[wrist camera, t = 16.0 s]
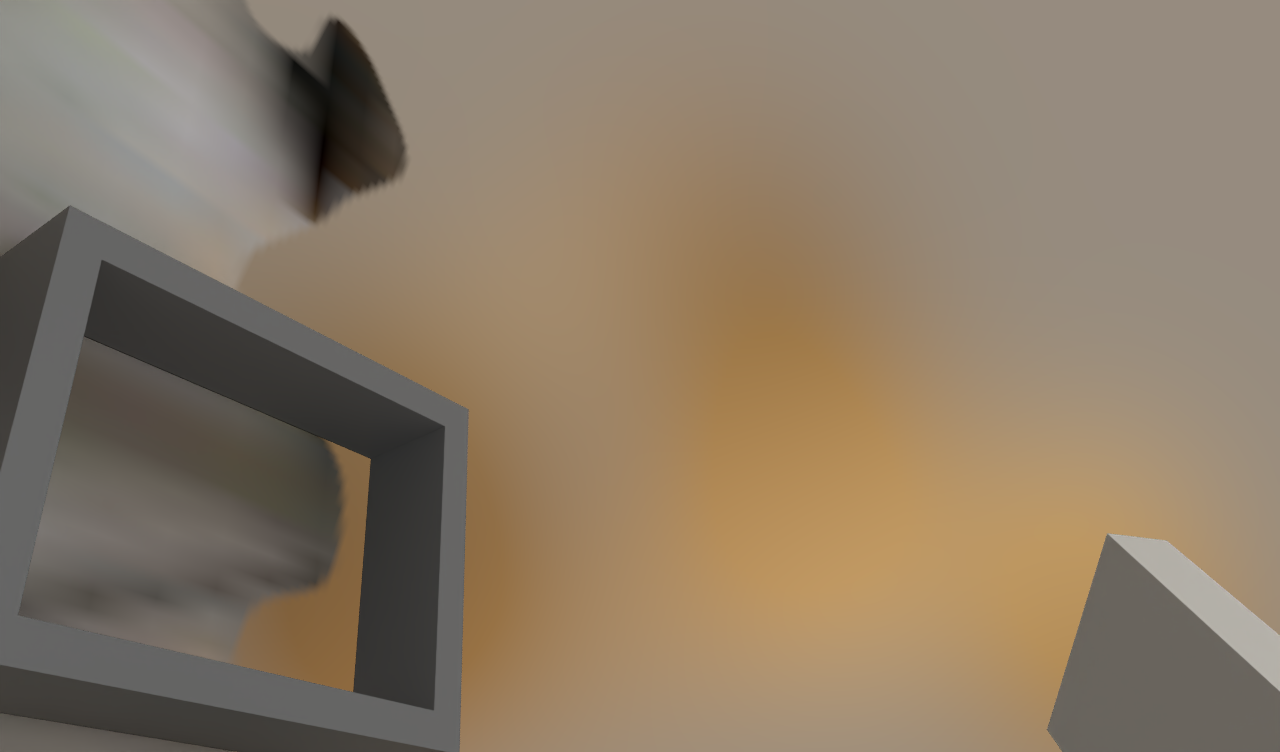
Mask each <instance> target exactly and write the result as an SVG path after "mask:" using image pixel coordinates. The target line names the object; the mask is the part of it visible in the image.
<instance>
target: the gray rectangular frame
mask: <svg viewBox="0 0 1280 752" xmlns="http://www.w3.org/2000/svg"><path fill="white" fill-rule="evenodd" d="M84 336H86V337H88V338H90V339H93V340H95V341H97V342H100V343H102V344H104V345H107V346H109V347H111V348H114V349H116V350H118V351H121V352H123V353H125V354H128V355H130V356H132V357H135V358H137V359H139V360H142V361H144V362H146V363H149V364H151V365H153V366H156V367H158V368H160V369H163V370H165V371H167V372H170V373H172V374H174V375H177V376H179V377H181V378H184V379H186V380H188V381H191V382H193V383H195V384H198V385H200V386H202V387H205V388H207V389H209V390H212V391H214V392H216V393H219V394H221V395H223V396H226V397H228V398H230V399H233V400H235V401H237V402H240V403H242V404H244V405H247V406H249V407H251V408H254V409H256V410H258V411H261V412H263V413H265V414H268V415H270V416H272V417H275V418H277V419H279V420H282V421H284V422H286V423H289V424H291V425H293V426H296V427H298V428H300V429H303V430H305V431H307V432H310V433H312V434H314V435H317V436H319V437H321V438H324V439H326V440H328V441H331V442H333V443H335V444H338V445H340V446H342V447H345V448H347V449H349V450H352V451H354V452H356V453H359V454H361V455H363V456H366V457H368V458H370V459H371V465H370V479H369V492H368V506H367V519H366V532H365V545H364V558H363V571H362V585H361V598H360V611H359V625H358V638H357V652H356V664H355V678H354V690H353V692H350V691H346V690H341V689H337V688H332V687H328V686H324V685H320V684H315V683H311V682H306V681H302V680H298V679H293V678H289V677H285V676H280V675H276V674H272V673H267V672H263V671H259V670H254V669H250V668H245V667H241V666H237V665H233V664H228V663H224V662H219V661H215V660H211V659H206V658H202V657H198V656H193V655H189V654H185V653H180V652H176V651H171V650H167V649H163V648H158V647H154V646H150V645H145V644H141V643H137V642H132V641H128V640H123V639H119V638H115V637H110V636H106V635H102V634H97V633H93V632H89V631H84V630H80V629H76V628H71V627H67V626H62V625H58V624H54V623H49V622H45V621H41V620H36V619H32V618H28V617H23V616H19V615H18V613H19V608H20V604H21V600H22V596H23V591H24V587H25V583H26V579H27V574H28V570H29V566H30V562H31V557H32V553H33V549H34V545H35V540H36V536H37V532H38V528H39V523H40V519H41V515H42V511H43V506H44V502H45V498H46V494H47V490H48V485H49V481H50V477H51V473H52V468H53V464H54V460H55V456H56V451H57V447H58V443H59V439H60V434H61V430H62V426H63V422H64V417H65V413H66V409H67V405H68V400H69V396H70V392H71V388H72V383H73V379H74V375H75V371H76V366H77V362H78V358H79V354H80V349H81V345H82V341H83V337H84ZM467 445H468V409H467V408H464V407H463V406H461V405H459V404H457V403H455V402H453V401H451V400H449V399H447V398H445V397H443V396H441V395H439V394H437V393H435V392H433V391H431V390H429V389H427V388H426V387H423V386H422V385H420V384H418V383H415V382H413V381H412V380H410V379H408V378H406V377H404V376H402V375H400V374H398V373H396V372H394V371H392V370H390V369H388V368H386V367H385V366H382V365H381V364H378V363H377V362H375V361H373V360H371V359H369V358H367V357H365V356H363V355H361V354H359V353H357V352H355V351H353V350H351V349H349V348H347V347H345V346H343V345H342V344H340V343H338V342H336V341H334V340H332V339H330V338H328V337H326V336H324V335H322V334H320V333H318V332H316V331H314V330H312V329H310V328H308V327H306V326H304V325H302V324H300V323H298V322H297V321H294V320H293V319H291V318H289V317H287V316H285V315H283V314H281V313H279V312H277V311H275V310H273V309H271V308H269V307H267V306H265V305H263V304H261V303H259V302H258V301H255V300H253V299H252V298H250V297H248V296H246V295H244V294H242V293H240V292H238V291H236V290H234V289H232V288H230V287H228V286H226V285H224V284H222V283H220V282H218V281H217V280H215V279H213V278H211V277H209V276H207V275H205V274H203V273H201V272H199V271H197V270H195V269H193V268H191V267H189V266H187V265H185V264H183V263H181V262H179V261H177V260H176V259H174V258H172V257H170V256H168V255H166V254H164V253H162V252H160V251H158V250H156V249H154V248H152V247H150V246H148V245H146V244H144V243H142V242H140V241H138V240H136V239H134V238H133V237H131V236H129V235H127V234H125V233H123V232H121V231H119V230H117V229H115V228H113V227H111V226H109V225H107V224H105V223H103V222H101V221H99V220H97V219H95V218H93V217H92V216H90V215H88V214H86V213H84V212H82V211H80V210H78V209H76V208H74V207H72V206H68V207H67V208H66V209H64V210H63V211H62V212H60V213H59V214H58V215H56V216H55V217H54V218H52V219H51V220H50V221H48V222H47V223H46V224H44V225H43V226H42V227H40V228H39V229H38V230H36V231H35V232H34V233H32V234H31V235H29V236H28V237H27V238H25V239H24V240H23V241H21V242H20V243H19V244H17V245H16V246H15V247H13V248H12V249H11V250H9V251H8V252H7V253H5V254H4V255H3V256H1V257H0V713H6V714H12V715H18V716H24V717H30V718H36V719H42V720H48V721H54V722H60V723H67V724H73V725H79V726H85V727H91V728H97V729H103V730H109V731H115V732H121V733H127V734H133V735H140V736H146V737H152V738H158V739H164V740H170V741H176V742H182V743H188V744H194V745H200V746H206V747H213V748H219V749H225V750H231V751H237V752H459V748H460V746H459V745H460V708H461V673H462V635H463V598H464V561H465V560H464V559H465V524H466V523H465V522H466V521H465V519H466V485H467V449H468V447H467Z"/></svg>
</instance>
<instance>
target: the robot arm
mask: <svg viewBox="0 0 1280 752" xmlns="http://www.w3.org/2000/svg"><path fill="white" fill-rule="evenodd" d="M1047 730H1048V732H1049V733H1050V735H1051V736H1052V737H1053V739H1054V740H1055V742H1056V743H1057V745H1058V746H1059V748H1060V749H1061V750H1062V752H1280V635H1278V634H1277V633H1276V632H1275V631H1274V630H1273V629H1271V628H1270V627H1269V626H1268V625H1266V624H1265V623H1264V622H1263V621H1262V620H1261V619H1259V618H1258V617H1257V616H1256V615H1255V614H1253V613H1252V612H1251V611H1250V610H1249V609H1248V608H1246V607H1245V606H1244V605H1243V604H1242V603H1240V602H1239V601H1238V600H1237V599H1235V598H1234V597H1233V596H1232V595H1231V594H1230V593H1228V592H1227V591H1226V590H1225V589H1224V588H1222V587H1221V586H1220V585H1219V584H1218V583H1217V582H1215V581H1214V580H1213V579H1212V578H1210V577H1209V576H1208V575H1207V574H1206V573H1204V572H1203V571H1202V570H1201V569H1200V568H1198V567H1197V566H1196V565H1195V564H1194V563H1193V562H1191V561H1190V560H1189V559H1188V558H1187V557H1186V556H1184V555H1183V554H1182V553H1181V552H1179V551H1178V550H1177V549H1176V548H1175V547H1174V546H1172V545H1171V544H1170V543H1169V542H1168V541H1166V540H1158V539H1149V538H1140V537H1133V536H1124V535H1116V534H1107V536H1106V539H1105V542H1104V546H1103V549H1102V552H1101V555H1100V559H1099V562H1098V565H1097V568H1096V572H1095V575H1094V578H1093V581H1092V585H1091V588H1090V591H1089V595H1088V598H1087V601H1086V604H1085V608H1084V611H1083V614H1082V617H1081V621H1080V624H1079V627H1078V630H1077V634H1076V637H1075V640H1074V643H1073V647H1072V650H1071V653H1070V656H1069V660H1068V663H1067V667H1066V669H1065V673H1064V676H1063V679H1062V683H1061V686H1060V689H1059V692H1058V696H1057V699H1056V702H1055V705H1054V709H1053V712H1052V715H1051V719H1050V722H1049V725H1048V729H1047Z"/></svg>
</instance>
